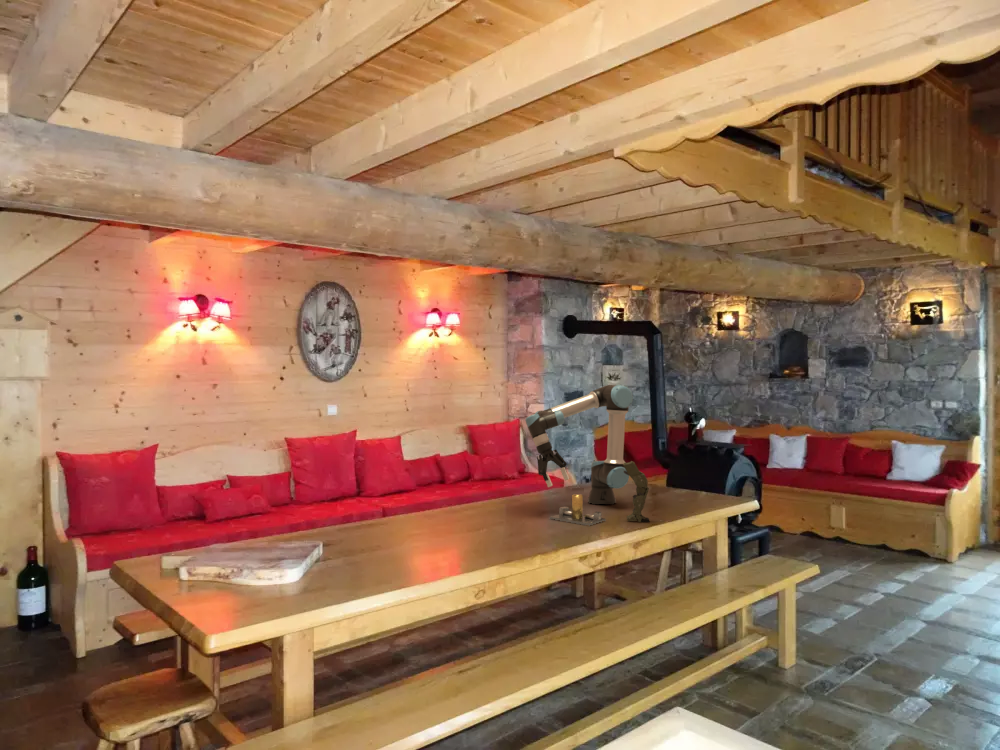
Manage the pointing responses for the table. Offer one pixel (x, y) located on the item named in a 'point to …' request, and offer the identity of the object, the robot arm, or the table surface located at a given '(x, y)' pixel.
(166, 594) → the table surface
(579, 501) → the orange glossy cylinder
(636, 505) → the mechanical leg
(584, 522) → the bed plate
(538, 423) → the robot arm
